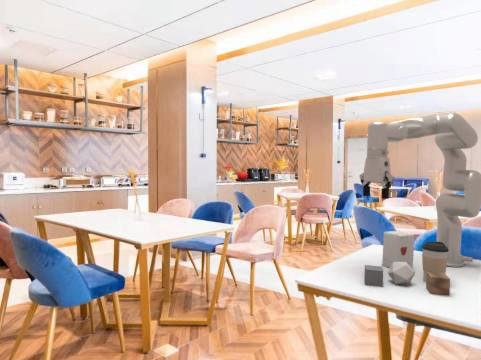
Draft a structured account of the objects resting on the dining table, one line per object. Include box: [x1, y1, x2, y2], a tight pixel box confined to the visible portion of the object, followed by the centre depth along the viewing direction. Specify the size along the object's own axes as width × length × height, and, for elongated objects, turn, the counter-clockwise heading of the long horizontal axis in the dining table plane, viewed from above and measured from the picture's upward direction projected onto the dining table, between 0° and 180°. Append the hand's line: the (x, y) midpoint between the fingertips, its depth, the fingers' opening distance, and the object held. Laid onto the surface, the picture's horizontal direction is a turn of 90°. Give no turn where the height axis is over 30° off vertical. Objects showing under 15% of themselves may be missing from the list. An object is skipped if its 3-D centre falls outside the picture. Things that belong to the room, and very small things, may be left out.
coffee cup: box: [421, 241, 449, 283], centre depth 136 cm, size 9×9×15 cm
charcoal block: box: [363, 264, 384, 288], centre depth 133 cm, size 6×6×6 cm
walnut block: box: [425, 272, 451, 297], centre depth 126 cm, size 6×6×6 cm
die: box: [387, 262, 416, 285], centre depth 134 cm, size 8×9×10 cm
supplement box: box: [381, 230, 415, 269], centre depth 155 cm, size 9×9×15 cm
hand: (375, 197), depth 142 cm, fingers open, 9 cm apart
